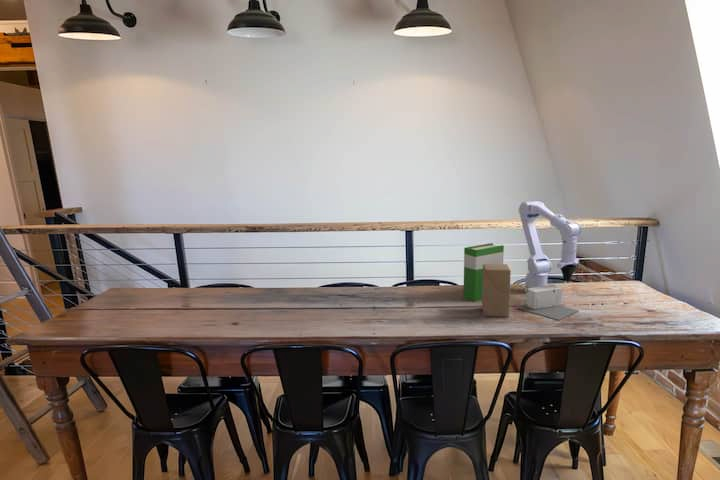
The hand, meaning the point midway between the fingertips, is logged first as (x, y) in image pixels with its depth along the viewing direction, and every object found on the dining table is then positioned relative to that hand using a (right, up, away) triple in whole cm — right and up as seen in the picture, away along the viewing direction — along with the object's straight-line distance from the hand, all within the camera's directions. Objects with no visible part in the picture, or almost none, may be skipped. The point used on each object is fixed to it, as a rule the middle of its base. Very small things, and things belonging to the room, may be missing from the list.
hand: (566, 281), depth 191 cm
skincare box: (-4, -6, -1) cm, 7 cm away
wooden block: (-34, -13, -7) cm, 37 cm away
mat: (-11, -12, -6) cm, 17 cm away
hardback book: (-33, -9, +14) cm, 37 cm away
